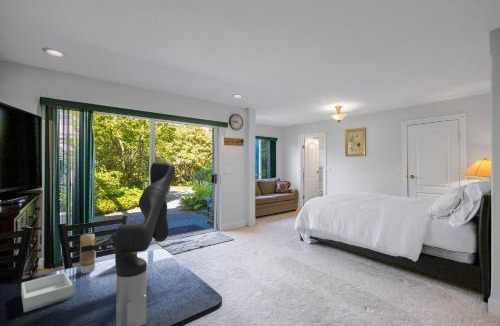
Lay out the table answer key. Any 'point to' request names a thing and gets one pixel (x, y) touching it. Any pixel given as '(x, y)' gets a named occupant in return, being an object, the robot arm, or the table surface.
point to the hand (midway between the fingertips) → (79, 248)
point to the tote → (46, 291)
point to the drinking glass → (89, 268)
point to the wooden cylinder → (88, 256)
